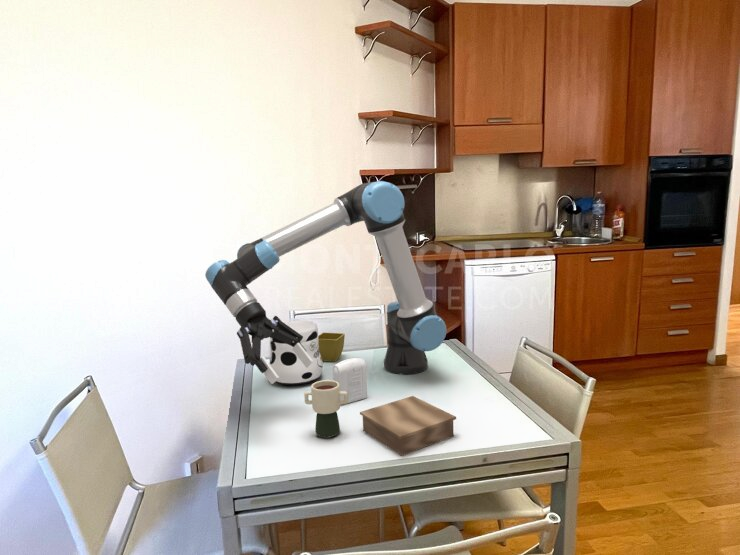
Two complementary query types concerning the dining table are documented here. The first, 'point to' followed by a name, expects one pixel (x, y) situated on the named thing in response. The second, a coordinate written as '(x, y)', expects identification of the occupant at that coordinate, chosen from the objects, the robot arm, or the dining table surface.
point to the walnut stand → (407, 424)
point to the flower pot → (331, 345)
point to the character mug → (326, 406)
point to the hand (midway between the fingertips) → (293, 372)
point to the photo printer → (351, 378)
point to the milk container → (288, 361)
